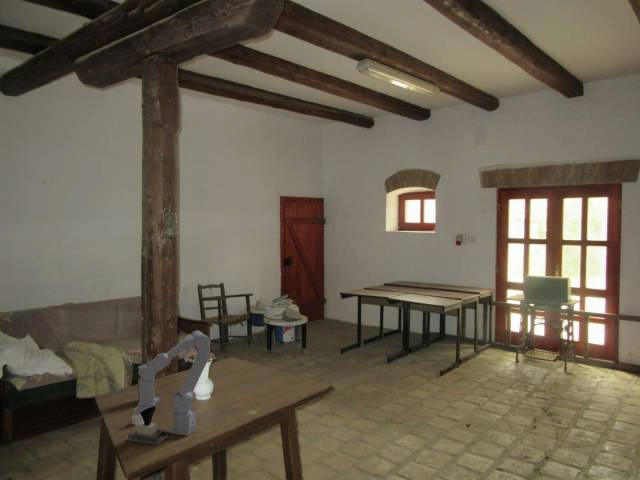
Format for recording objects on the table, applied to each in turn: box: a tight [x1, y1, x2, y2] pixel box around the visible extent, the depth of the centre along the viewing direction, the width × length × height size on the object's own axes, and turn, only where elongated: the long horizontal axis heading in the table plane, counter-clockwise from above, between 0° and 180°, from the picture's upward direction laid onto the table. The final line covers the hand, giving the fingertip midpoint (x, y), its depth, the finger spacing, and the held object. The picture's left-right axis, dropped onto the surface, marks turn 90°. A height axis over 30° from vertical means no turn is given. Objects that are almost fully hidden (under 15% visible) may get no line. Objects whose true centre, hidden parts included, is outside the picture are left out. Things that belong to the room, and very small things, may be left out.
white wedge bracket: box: [131, 404, 143, 426], centre depth 219 cm, size 4×10×9 cm
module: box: [136, 421, 158, 437], centre depth 203 cm, size 7×4×5 cm, turn 74°
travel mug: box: [137, 363, 156, 403], centre depth 243 cm, size 8×8×18 cm
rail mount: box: [126, 428, 169, 446], centre depth 203 cm, size 15×7×3 cm, turn 74°
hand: (147, 424), depth 203 cm, fingers closed, pressing on module
